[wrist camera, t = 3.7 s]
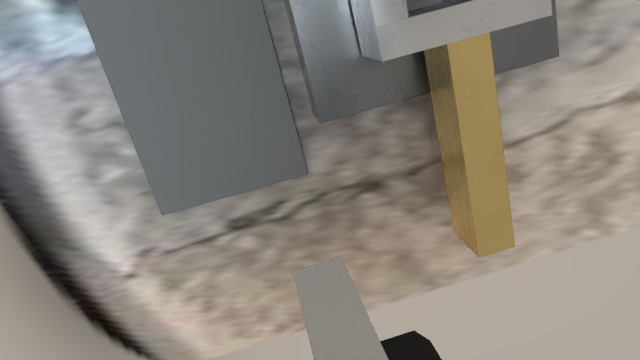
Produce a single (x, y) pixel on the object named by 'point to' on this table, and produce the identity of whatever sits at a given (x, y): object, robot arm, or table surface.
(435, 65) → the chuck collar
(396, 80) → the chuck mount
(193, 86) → the pad
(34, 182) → the table surface
